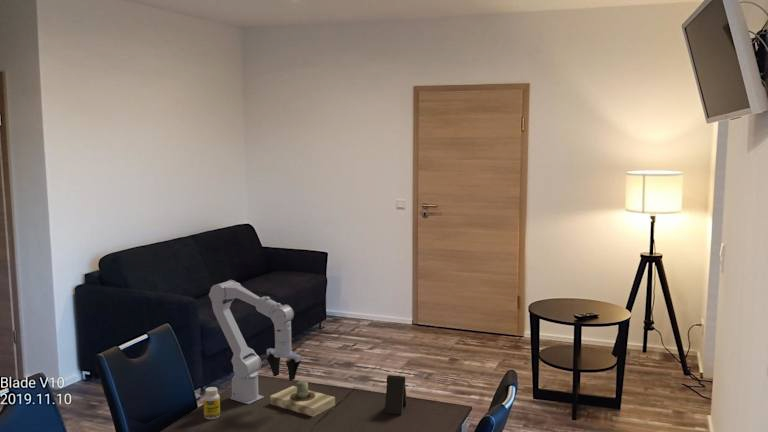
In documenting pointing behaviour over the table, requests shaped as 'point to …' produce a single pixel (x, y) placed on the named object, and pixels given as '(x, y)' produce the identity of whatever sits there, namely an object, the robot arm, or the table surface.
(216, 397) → the supplement bottle
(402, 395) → the phone stand
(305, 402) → the socket board
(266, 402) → the table surface
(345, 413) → the table surface
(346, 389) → the table surface
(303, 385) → the green peg
